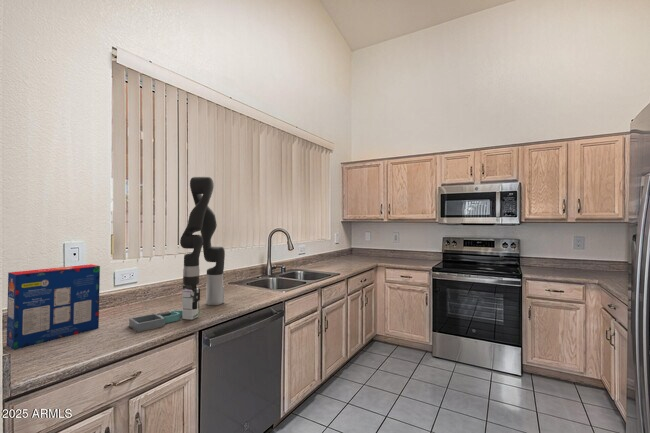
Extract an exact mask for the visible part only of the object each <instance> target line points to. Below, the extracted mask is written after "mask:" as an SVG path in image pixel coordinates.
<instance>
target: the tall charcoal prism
mask: <svg viewBox="0 0 650 433" xmlns="http://www.w3.org/2000/svg"><path fill="white" fill-rule="evenodd" d="M156 314H157V315H161V316H162V317H166V316H170V315H171V311H163V312H158V313H156Z"/></svg>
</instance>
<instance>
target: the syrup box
mask: <svg viewBox="0 0 650 433" xmlns="http://www.w3.org/2000/svg"><path fill="white" fill-rule="evenodd" d="M198 288H199V287H197V289H198ZM190 293H191V295H192V296H193V295H194V292H193V291H192V290H191V289H190V290H188V289H184V290H183V289H182V296H181V298H182V304H181V305H182V308H181V309H182V317H181V318H182V319H183V320H188V321H189V320H190V321H192V320H195V319H197V318H198V317H200V301H197V309H195V310H193V309H192V298H190ZM197 297H198V296H197ZM193 298H194V297H193Z"/></svg>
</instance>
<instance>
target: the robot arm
mask: <svg viewBox="0 0 650 433" xmlns="http://www.w3.org/2000/svg"><path fill="white" fill-rule="evenodd" d="M214 183H215V182H214V180H213V178H212V177H210V176H193V177H191V178H190V181H189V190H190V192H191V196H192V198H193V203H194V205H195V206H194V207H193V208H192V209H191V212H190V213H189V216H188V220H187V225H186V226H185V227H186V228H185V230H183V233H182V235H181V236H180V239H179V243H180V247H181V248H182V249H186V250H187V249H189V250H191V249H192V252H189V253H185V254H184V256H183V270H182V273H183V274H182V290H184V289H188V290H190V289H191V290H192V291H193V292H194V295H193V296H192V295H191V293H190V298H192V309H193V310H195V309H197V301H199V302H200V301H201V289H200V287H197V285H199V284H200V271H201V270H200V256H201V253H202V252H201V251H203V258H204V260H205V262H207V263H215V265H214V266H213V267H209V268H208V269H207V270H206V283H205V284H206V287H205V289H206V290H205V294H206V295H205V297H206V298H205V305H207V306H219V305H222V304H224V303H225V286H224V270H225V256H226V253H225V252H226V250H225V248H224V247H223V246H216V245H215V246H212V241H211V240H212V237H213V235H214V233H215V231H216V229H217V227H218V226H217V219H216V214H215V213H214V211H213V210H212V209H211V207H209V203H210V200H211V197H212V194H213V192H214V186H215V185H214ZM196 232H200V234H195V233H196ZM197 288H198V289H197ZM197 296H198V297H197ZM193 297H194V298H193Z"/></svg>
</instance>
